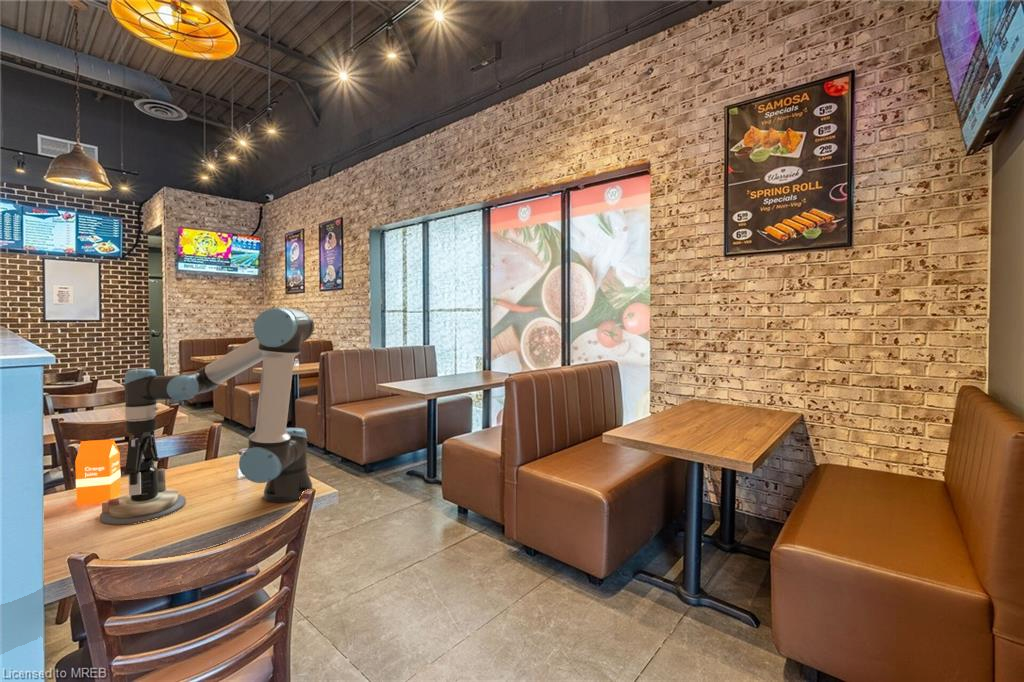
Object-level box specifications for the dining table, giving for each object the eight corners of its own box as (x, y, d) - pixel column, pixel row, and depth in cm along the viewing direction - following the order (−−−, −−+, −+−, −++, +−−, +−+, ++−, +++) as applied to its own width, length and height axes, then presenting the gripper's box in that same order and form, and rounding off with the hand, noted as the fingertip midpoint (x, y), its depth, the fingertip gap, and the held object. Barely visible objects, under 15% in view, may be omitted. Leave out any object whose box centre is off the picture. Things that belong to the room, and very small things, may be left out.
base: (193, 493, 156) (193, 482, 156) (173, 518, 136) (173, 506, 136) (118, 501, 148) (117, 489, 148) (85, 530, 129) (84, 516, 129)
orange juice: (88, 496, 152) (86, 438, 151) (121, 493, 155) (119, 436, 154) (76, 505, 145) (74, 444, 144) (110, 502, 148) (108, 442, 147)
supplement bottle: (131, 496, 143) (130, 459, 142) (158, 491, 147) (157, 455, 146) (129, 503, 137) (128, 465, 137) (157, 498, 141) (156, 461, 141)
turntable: (141, 494, 151) (140, 467, 150) (190, 496, 151) (190, 468, 150) (92, 517, 134) (91, 486, 134) (148, 518, 134) (148, 487, 133)
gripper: (141, 425, 131) (143, 499, 131) (168, 411, 153) (169, 475, 153) (108, 427, 128) (110, 503, 129) (141, 413, 150) (142, 477, 151)
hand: (142, 488), depth 141 cm, fingers open, 11 cm apart
